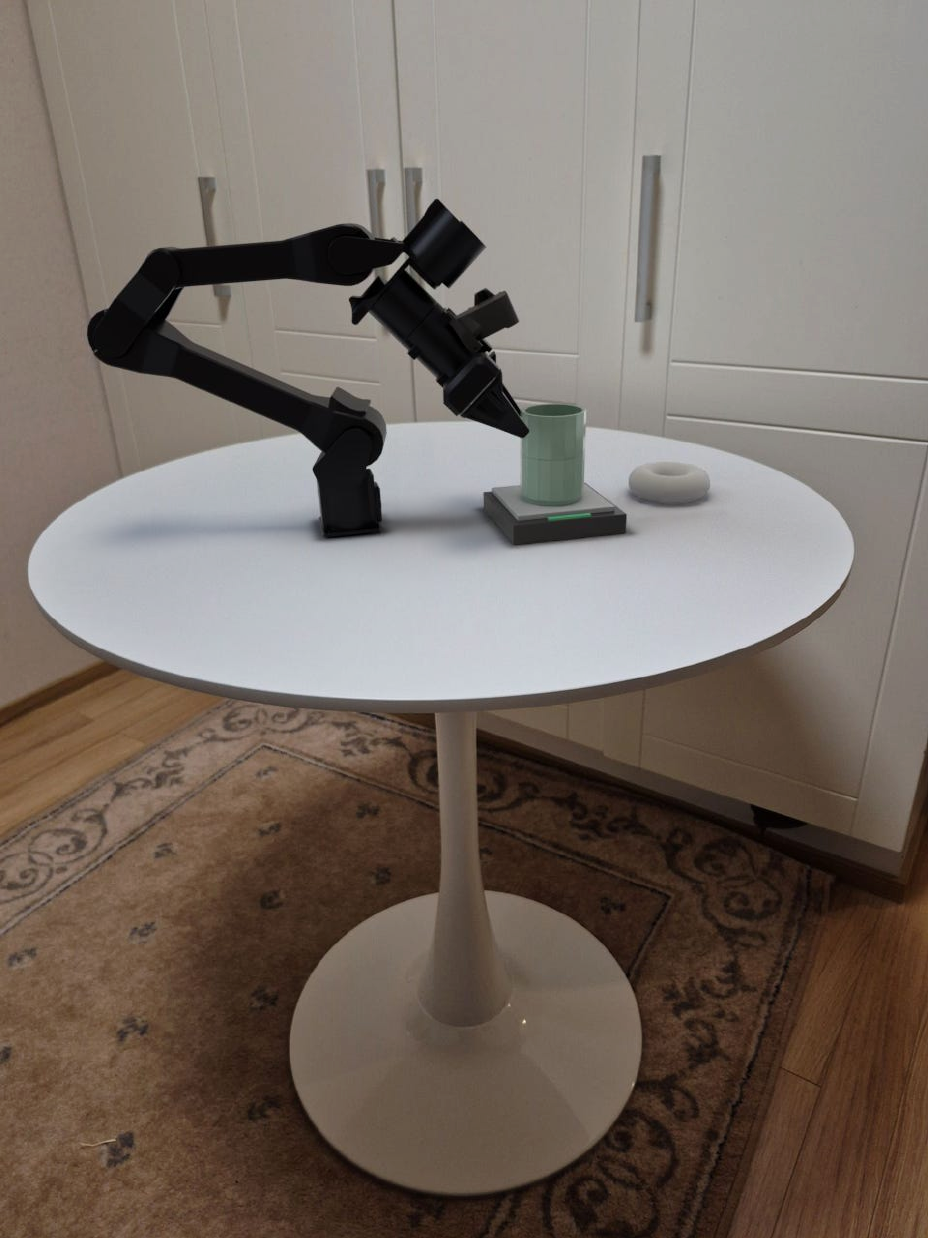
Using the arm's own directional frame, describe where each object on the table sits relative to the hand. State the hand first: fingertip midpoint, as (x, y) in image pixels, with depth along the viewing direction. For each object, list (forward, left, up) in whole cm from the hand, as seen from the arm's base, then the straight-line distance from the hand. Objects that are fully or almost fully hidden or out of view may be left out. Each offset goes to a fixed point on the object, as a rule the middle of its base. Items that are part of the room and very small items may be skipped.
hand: (523, 425), depth 95 cm
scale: (+3, -1, -11) cm, 12 cm away
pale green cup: (+3, -1, -8) cm, 9 cm away
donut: (+20, +4, -11) cm, 24 cm away
